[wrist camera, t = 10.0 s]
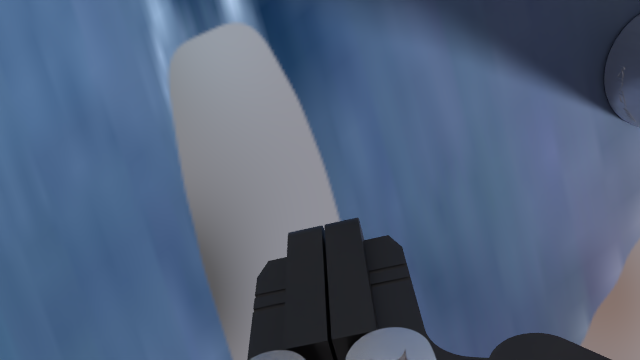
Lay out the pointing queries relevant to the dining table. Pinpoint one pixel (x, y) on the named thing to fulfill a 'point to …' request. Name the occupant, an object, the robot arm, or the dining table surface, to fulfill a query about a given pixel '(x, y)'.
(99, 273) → the dining table surface
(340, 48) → the dining table surface
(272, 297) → the robot arm
